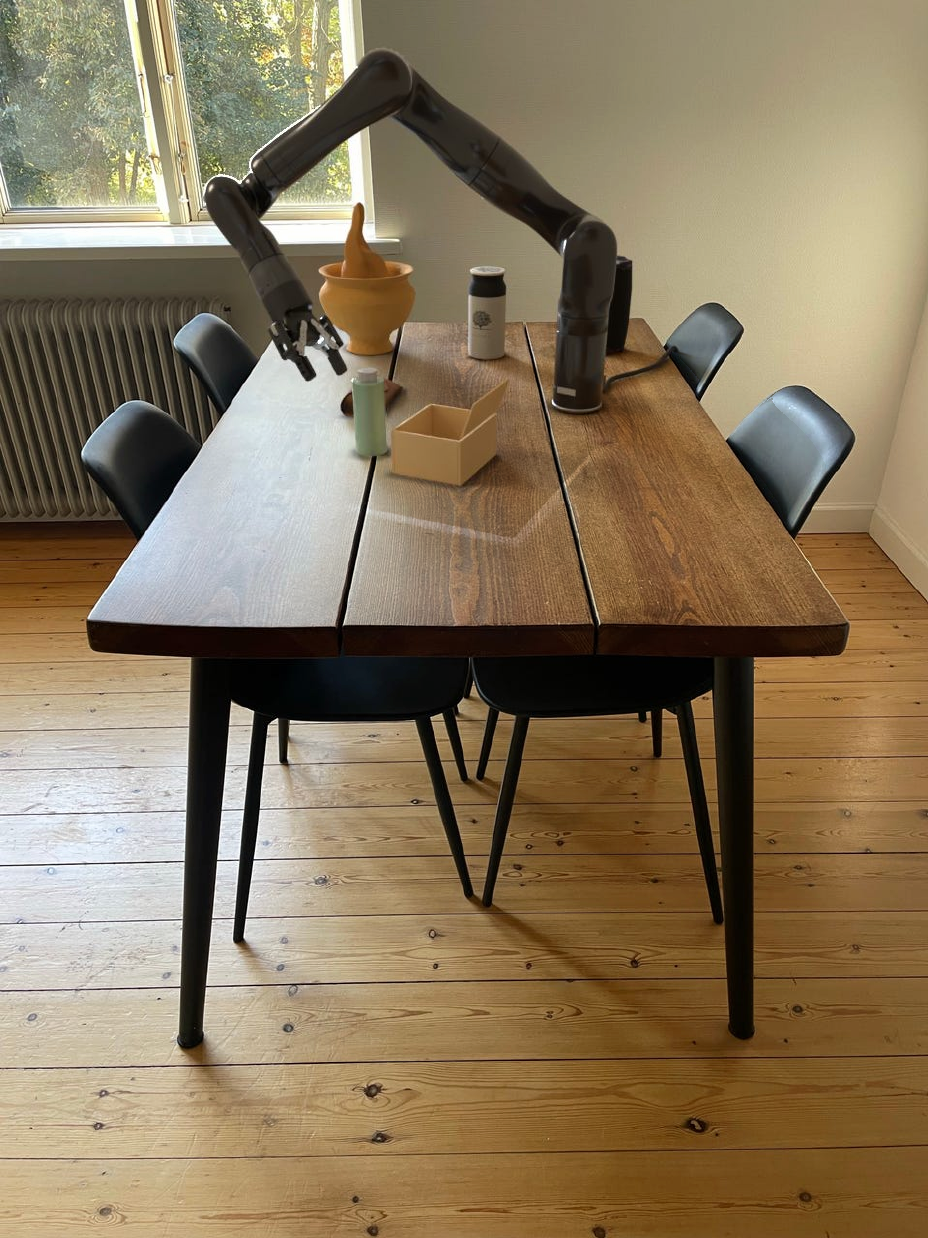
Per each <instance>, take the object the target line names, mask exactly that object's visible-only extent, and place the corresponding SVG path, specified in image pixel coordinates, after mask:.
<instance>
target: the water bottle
mask: <svg viewBox="0 0 928 1238" xmlns="http://www.w3.org/2000/svg"><path fill="white" fill-rule="evenodd" d="M377 370H378V369H377V368H374V367H361V368H359V369H358V370H357V376H355V377H353V378H352V379H351V388H352V395H353V411H354V417H353V426H354V441H355V453H356V454H357V455H360V456H363V457H378V456H381V455H384V454H386V453H387V452H388V439H387V438H388V437H387V436H388V435H387V415H386V414H387V413H386V411H385V389H384V379H383V378H384V377H383V376H381V377H379V376H380V375H379V376H377V375H378V371H377ZM382 377H383V378H382Z"/></svg>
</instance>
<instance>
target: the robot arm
mask: <svg viewBox="0 0 928 1238" xmlns="http://www.w3.org/2000/svg"><path fill="white" fill-rule="evenodd" d="M386 118H389V119H391V120H392V121H394V122H396V123H397V124H399V125H400V126H401V127H403V128H405V129H406V130H407V131H409V132H410V133H411V134H413V135H415V137H417V138H418V139H419V140H421V141H422V142H423V143H424V144H425V146H427V148H429V150H430V151H431V152H432V153H433V154H434V155H435V157H436V158H438V160H439V161H440V162H441V163H442V164H443V165H444V166H445V167H446V168H447V170H449V171H450V172H451V173H452V174H453V175H454V176H455V178H456V179H458V180H459V181H460V182H462V184H464V186H466V187H467V188H468V189H470V190H471V191H473V192H474V193H475V195H477V196H479V197H480V198H481V199H482V200H484V201H485V202H487V203H488V204H490V205H491V206H493V207H494V208H496V209H497V210H499V211H501V212H503V213H504V214H506V215H507V216H509V217H512V218H513V219H515V220H517V221H519V222H521V223H523V224H525V225H526V226H527V227H529V228H530V229H532V230H533V231H534V232H535V233H536V234H538V235H539V236H540V237H541V238H542V239H543V240H544V241H545V242H546V243H547V244H548V245H549V246H550V247H551V248H553V250H554V251H555V252H556V253H557V254H558V255H559V256H560V258H561V259H562V277H561V288H560V293H559V296H558V299H557V310H556V311H557V313H556V315H557V316H556V331H555V332H556V333H555V335H556V336H555V348H554V349H555V351H554V352H555V353H554V369H553V385H552V400H551V407H552V408H553V409H555V410H557V411H560V412H563V413H568V414H577V415H579V414H590V413H595V412H598V411H599V410H601V409H602V406H603V402H602V398H603V393H606V392H607V391H608V389H609V386H610V385H611V384H612V383H613V382H615V381H617V380H621V379H626V378H629V377H634V376H637V375H640V374H643V373H646V372H649V371H652V370H654V369H656V368H658V367H660V366H661V365H663V363H664V362H665V361H666V359H667V358H668V357H669V356H670V355H672V353H673V352H674V353H679V348H678V347H677V346H676V345H672V346H670V347H669V348H668V349H667V350H666V352H664V353H663V354H662V356H661V357H660V358H659V360H658V361H656V362H654V363H652V364H650V365H647V366H643V367H641V368H638V369H634V370H630V371H627V372H621V373H618V374H614V375H612V376H610V377H609V378H608V379H607V375H606V374H605V366H606V365H605V364H606V355H605V354H606V342H607V329H608V317H609V307H610V303H611V300H612V297H613V291H614V281H615V272H616V263H617V255H618V241H617V236H616V235H615V232H614V231H613V229H612V228H611V227H610V226H609V225H608V224H607V223H606V222H605V221H604V220H603V219H601V218H599V217H598V216H597V215H595V214H592V213H591V212H589V211H587V210H586V209H584V208H582V207H581V206H579V205H578V204H577V203H575V202H573V201H572V200H570V199H569V198H568V197H566V196H564V195H563V194H561V192H559V191H558V190H557V189H556V188H554V187H553V186H552V184H550V182H548V180H547V179H546V178H545V177H544V176H543V175H542V174H541V173H540V171H539V170H538V169H537V168H536V167H535V166H534V165H533V164H532V163H531V162H530V161H529V160H528V159H527V158H526V157H525V156H524V155H523V154H522V153H521V152H520V151H519V150H518V149H516V148H515V147H514V146H513V145H511V144H510V143H509V142H508V141H507V140H505V139H504V138H503V137H502V136H500V135H499V134H498V133H497V132H496V131H494V130H492V129H491V128H490V127H488V126H487V125H486V124H484V123H483V122H482V121H480V120H478V119H477V118H476V117H474V116H473V115H471V114H470V113H468V112H466V111H465V110H463V109H462V108H460V107H459V106H458V105H455V104H454V103H452V102H451V101H449V100H448V99H447V98H446V97H445V96H443V95H442V93H440V92H439V91H438V90H436V88H435V87H434V86H433V85H431V83H429V82H428V81H427V80H426V79H425V78H424V77H423V76H422V75H421V74H420V72H418V70H416V68H414V66H413V65H412V64H411V63H410V62H409V61H408V60H407V58H406V57H405V56H404V55H403V54H401V52H399V51H398V50H396V49H393V48H391V47H385V46H381V47H376V48H373V49H371V50H369V51H368V52H367V53H366V54H364V55H363V56H362V57H361V58H360V60H359V61H358V63H357V64H356V67H355V69H354V70H353V71H352V73H351V74H350V75H349V76H348V77H347V79H345V81H343V83H342V84H341V85H340V86H339V87H338V89H337V90H335V92H333V93H332V94H331V96H329V97H328V98H327V99H326V100H325V101H324V102H322V103H321V104H319V106H317V107H316V108H315V109H313V110H312V111H311V112H309V113H308V114H306V115H305V116H303V117H302V118H301V119H299V120H297V121H296V122H294V123H293V124H291V125H290V126H289V127H287V128H286V129H284V130H283V131H282V132H280V133H279V134H277V135H276V136H275V137H274V138H273V139H272V140H270V141H269V142H268V143H267V144H265V145H264V146H262V148H260V149H259V150H257V151H256V153H255V154H254V155H253V156H252V157H251V158H250V161H249V168H250V171H249V172H248V173H247V175H245V176H244V177H243V179H241V180H240V181H239V180H237V179H236V178H234V177H232V176H229V175H225V174H224V175H223V174H218V175H215V176H213V177H211V178H210V179H209V180H208V181H207V182H206V184H205V186H204V190H203V202H204V207H205V208H206V211H207V213H208V215H209V217H210V219H211V220H212V222H213V223H214V225H215V226H216V228H217V229H218V230H219V232H220V233H221V235H222V236H223V237H224V239H226V241H227V242H228V244H229V245H230V246H231V247H232V249H233V250H234V251H235V252H236V255H237V257H238V259H239V260H240V262H241V265H242V266H243V268H244V270H245V271H246V273H247V275H248V277H249V279H250V281H251V285H252V286H253V289H254V291H255V293H256V294H257V296H258V298H259V300H260V302H261V304H262V305H263V307H264V309H265V311H266V313H267V315H268V316H269V318H270V320H271V322H272V324H271V325H270V326H269V327H268V328H267V332H268V334H269V336H270V338H271V340H272V342H273V344H274V346H275V348H276V350H277V352H278V354H279V356H280V358H281V359H282V360H283V361H288V360H289V361H290V362H292V364H295V367H296V368H297V369H298V372H299V373H300V375H301V377H302V378H303V379H304V381H305V382H308V383H309V382H312V381H313V380H314V379H315V378H316V377H317V372H316V370H315V369H314V367H313V365H312V363H311V361H310V359H309V358H308V355H306V354H305V353H306V351H305V349H306V347H309V348H313V349H314V350H316V351H320V352H322V353H323V355H325V356H326V357H327V360H328V362H329V364H330V366H331V367H332V369H333V371H334V373H335V375H336V376H337V377H340V376H343V375H344V374H345V373H346V372H347V371H348V367H347V364H346V362H345V360H344V359H343V356H342V355H341V352H340V349H341V348H342V347H343V346H344V345H345V344H344V341H343V340H342V338H341V336H340V335H339V333H338V331H337V329H336V327H335V326H334V325H333V324H332V323H331V321H330V319H329V318H328V316H327V315H326V314H324V315H323V316H322V317H320V318H317V317H316V316H315V315H314V314H313V307H314V306H313V305H314V303H313V300H312V298H311V297H310V295H309V293H308V291H307V289H306V288H305V286H304V283H303V282H302V280H301V279H300V277H299V275H298V273H297V271H296V270H295V268H294V266H293V264H292V263H291V262H290V261H289V259H288V258H287V256H286V254H285V252H284V251H283V249H282V247H281V245H280V243H279V242H278V240H277V238H276V236H275V235H274V233H273V232H272V231H271V230H270V228H269V227H267V226H266V225H264V223H263V222H261V219H262V218H263V217H264V216H265V214H266V213H267V212H268V211H269V210H270V209H271V207H272V206H273V205H274V204H275V202H276V201H277V200H278V198H279V197H280V195H281V194H282V193H284V192H285V191H287V190H288V189H289V188H290V187H292V186H293V185H295V184H296V183H298V182H299V181H300V180H301V179H302V178H303V177H304V176H307V174H308V173H310V172H311V171H312V170H313V169H315V168H316V167H317V166H318V165H319V164H320V163H321V162H322V161H324V159H326V158H327V157H328V156H329V155H331V154H332V153H333V152H334V151H335V150H336V149H338V148H339V147H340V146H341V145H342V144H344V143H345V142H347V141H348V140H349V139H350V138H352V137H354V136H355V135H357V134H358V133H360V132H361V131H363V130H364V129H367V128H368V127H370V126H372V125H374V124H376V123H378V122H380V121H382V120H384V119H386ZM321 337H322V338H321ZM332 338H333V339H334V340H333V339H332ZM284 345H285V347H286V348H285V347H284ZM326 346H327V347H326Z"/></svg>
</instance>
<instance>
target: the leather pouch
mask: <svg viewBox="0 0 928 1238" xmlns="http://www.w3.org/2000/svg"><path fill="white" fill-rule="evenodd" d="M377 376H379V377H382V378H383V379H384V389H385V412H386V411H387V409H388V407H389V406H390V404H391V403H392V402H393V401H394V399H396V397H397V396H398V394H399V393H400V392H401V391H402V389H403V388H404V386H403V385H402V384H399V383H397V382H394V381H392V380H389V379H388V378H385V377H383V376H381V375H378V374H377ZM339 407H340V412H341V413H342V414H343V415H344V416H345V417H352V418H354V411H353V395H352V387H351V388H349V390H348V391H347V392H346V394H345V395H344V397H343V399H341V402H340V405H339Z"/></svg>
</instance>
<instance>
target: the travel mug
mask: <svg viewBox="0 0 928 1238" xmlns="http://www.w3.org/2000/svg"><path fill="white" fill-rule="evenodd" d="M469 273H470V275H471V279H470V282H469V284H468V337H467V338H468V341H467V342H468V344H467V345H468V346H467V347H468V349H467V350H468V356H470V357H471V358H473V359H477V360H484V361H485V360H487V361H489V360H490V361H491V360H496V359H500V358H502V357H504V356H505V353H506V352H505V351H506V348H505V347H506V344H505V343H506V312H507V311H506V310H507V285H506V282H505V280H504V278H505V273H506V269H504V267H498V266H475V267H472V268H471V269H470V270H469Z"/></svg>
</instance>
